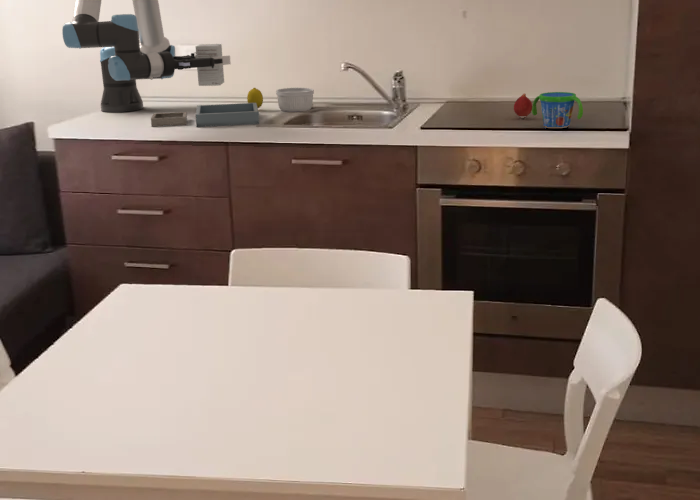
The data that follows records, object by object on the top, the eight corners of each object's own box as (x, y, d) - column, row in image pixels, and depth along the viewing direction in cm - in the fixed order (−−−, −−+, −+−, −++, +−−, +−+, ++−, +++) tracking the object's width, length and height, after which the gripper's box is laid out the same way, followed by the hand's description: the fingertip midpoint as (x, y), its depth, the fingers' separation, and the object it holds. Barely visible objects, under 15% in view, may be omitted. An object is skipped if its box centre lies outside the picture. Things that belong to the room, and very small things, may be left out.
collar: (154, 120, 296) (153, 113, 295) (187, 119, 297) (186, 111, 296) (151, 126, 285) (150, 118, 284) (186, 124, 287) (185, 117, 286)
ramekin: (320, 107, 314) (320, 88, 312) (303, 113, 303) (302, 93, 301) (288, 106, 320) (287, 86, 318) (270, 111, 309) (269, 91, 306)
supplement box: (202, 83, 291) (199, 44, 287) (224, 82, 291) (222, 43, 287) (197, 86, 284) (194, 46, 280) (220, 85, 284) (217, 45, 280)
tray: (198, 117, 301) (197, 105, 299) (256, 114, 303) (256, 102, 302) (196, 127, 282) (195, 114, 281) (259, 123, 284) (258, 111, 283)
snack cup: (524, 128, 265) (525, 94, 262) (544, 123, 272) (545, 90, 269) (568, 133, 254) (570, 98, 251) (588, 128, 261) (590, 94, 258)
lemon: (256, 112, 308) (254, 89, 305) (244, 110, 311) (243, 88, 309) (266, 109, 312) (265, 87, 310) (255, 108, 315) (254, 86, 313)
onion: (512, 120, 278) (513, 94, 276) (514, 117, 284) (514, 92, 281) (531, 120, 277) (532, 94, 275) (532, 117, 282) (533, 92, 280)
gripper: (144, 74, 284) (206, 68, 297) (176, 79, 267) (239, 73, 280) (142, 50, 282) (204, 45, 295) (173, 54, 265) (238, 48, 278)
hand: (221, 58), depth 287 cm, fingers closed on supplement box, 10 cm apart
